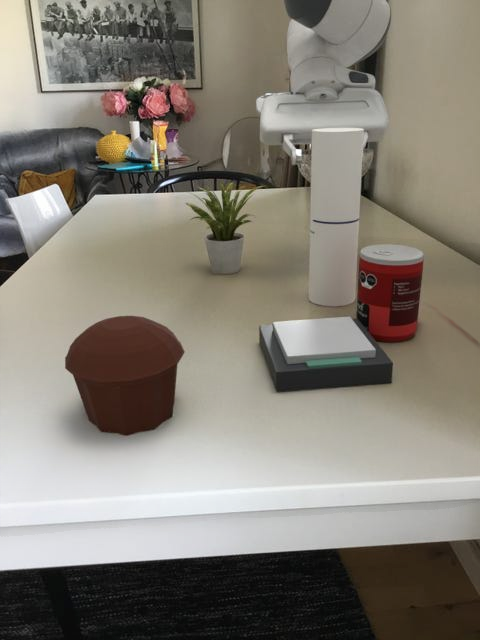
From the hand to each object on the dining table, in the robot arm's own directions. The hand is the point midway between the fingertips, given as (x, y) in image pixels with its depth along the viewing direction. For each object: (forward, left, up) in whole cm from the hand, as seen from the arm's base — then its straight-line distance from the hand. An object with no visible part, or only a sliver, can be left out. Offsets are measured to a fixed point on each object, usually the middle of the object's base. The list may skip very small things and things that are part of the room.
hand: (327, 161), depth 87 cm
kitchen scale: (+7, +28, -20) cm, 35 cm away
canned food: (-3, +20, -20) cm, 29 cm away
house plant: (+14, -12, -20) cm, 28 cm away
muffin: (+29, +36, -20) cm, 50 cm away
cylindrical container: (0, +7, -20) cm, 21 cm away
